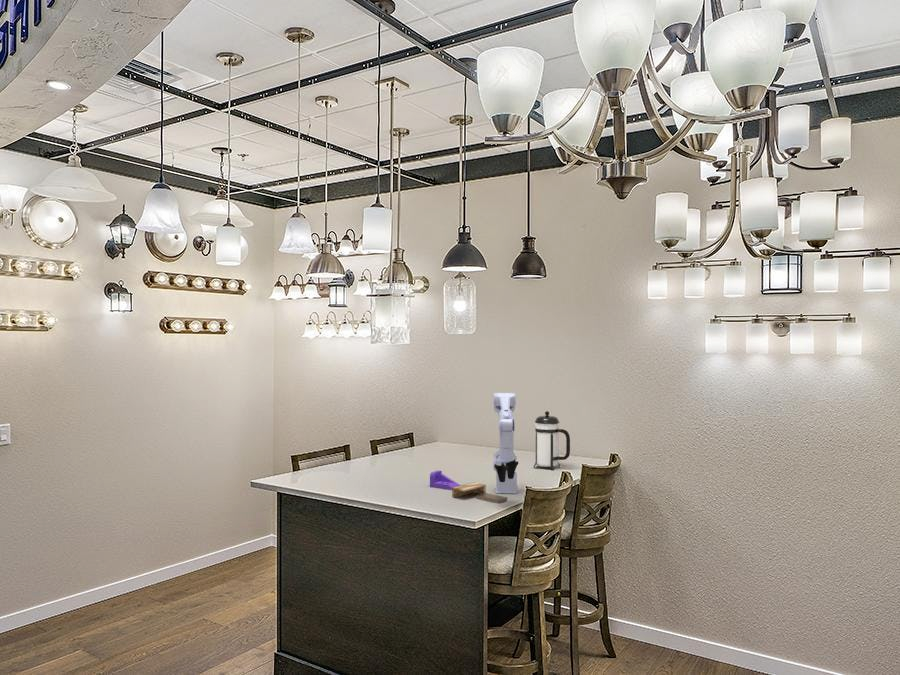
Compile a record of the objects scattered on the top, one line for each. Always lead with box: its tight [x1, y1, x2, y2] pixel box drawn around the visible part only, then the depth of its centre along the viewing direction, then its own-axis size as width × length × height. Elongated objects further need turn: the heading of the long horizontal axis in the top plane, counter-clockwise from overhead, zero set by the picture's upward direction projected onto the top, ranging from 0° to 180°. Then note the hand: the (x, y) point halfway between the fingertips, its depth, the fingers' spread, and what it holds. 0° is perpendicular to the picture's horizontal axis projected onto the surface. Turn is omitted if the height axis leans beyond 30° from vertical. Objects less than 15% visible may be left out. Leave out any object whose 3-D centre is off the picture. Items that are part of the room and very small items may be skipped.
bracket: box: [429, 470, 461, 491], centre depth 303 cm, size 12×7×7 cm, turn 58°
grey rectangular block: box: [475, 492, 508, 504], centre depth 280 cm, size 12×6×2 cm, turn 48°
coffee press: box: [533, 411, 571, 471], centre depth 350 cm, size 17×16×30 cm
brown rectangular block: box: [451, 481, 487, 498], centre depth 286 cm, size 7×14×4 cm, turn 136°
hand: (506, 480), depth 274 cm, fingers open, 7 cm apart
